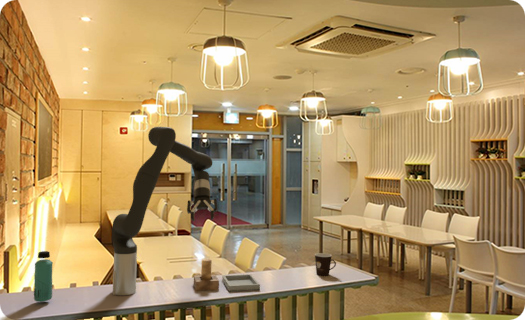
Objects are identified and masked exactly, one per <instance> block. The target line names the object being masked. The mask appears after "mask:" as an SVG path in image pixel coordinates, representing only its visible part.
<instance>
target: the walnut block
mask: <svg viewBox="0 0 525 320" xmlns="http://www.w3.org/2000/svg"><path fill="white" fill-rule="evenodd" d="M193 287H194V290H195V291H196V292H202V291H219V289H220V288H219V287H220V280H219V279H218V277H217V274H211V280H201V274H198V275H193Z"/></svg>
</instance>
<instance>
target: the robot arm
mask: <svg viewBox="0 0 525 320" xmlns="http://www.w3.org/2000/svg"><path fill="white" fill-rule="evenodd" d="M176 137H177V136H176V131H175V130H174V128H172V127H170V126H169V127H168V126H154V127H152V128H151V129H150V130H149V132H148V141H149V142H150V144H151V145H152V146H155V150H154V152H153V154H151V156H150V157H149V158H148V159H147V160H146V161H145V162H144V163H143V164H142V165H141V167H139V169H138V170H137V173H136V176H135V178H134V180H133V182H132V183H133V184H132V202H131V203H132V204H131V206H130V208H129V210H128V213H120V214H118V215H116V217H115V218H114V219H113V222H112V229H111V231H112V233H111V235H112V236H111V237H112V239H111V240H112V246H113V251H114V252H113V253H114V254H113V272H112V295H113V296H129V295H134V294H135V293H136V291H137V290H136V289H137V262H138V261H137V259H138V255H137V254H138V246H137V244H136V243H135V241H134V240H133V238H135V237H136V236H137V235H138V234H139V233H140V231H141V229H142V226H143V223H144V220H145V216H146V212H147V208H148V206H149V203H150V200H151V198H152V195H153V193H154V190H155V188H156V186H157V184H158V180H159V177H160V175H161V172H162V170H163V167H164V165H165V162H166V160H167V158H168V157H169V154H170V153H171V154H172V155H175V156H177V157H178V158H179V159H181V160H183V161H184V162H186V163H187V164H190V165H191V168H192V172H193V173H194V200H188V201H187V206H186V211H187V214H190V220H191V221H192V222H195V213H196V212H197V211H198V210H199V211H200V210H206V209H207V210H208V211H209V212H210V221H212V220H213V219H215V213H217V212H218V202H217V198H214V199H211V186H210V175H209V172H208V171H206V170H208V169H210V168H211V167H212V166H213V160H212V158H211V156H210V155H208V154H205V153H203V152H200V151H196V150H195V149H194V148H192V147H190V146H188V145H186V144H184V143H182V142H180V141H178V140H176ZM211 204H212V205H214V208H213V207H212V205H211ZM193 205H194V206H193ZM192 206H193V207H192ZM191 207H192V209H191Z"/></svg>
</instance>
